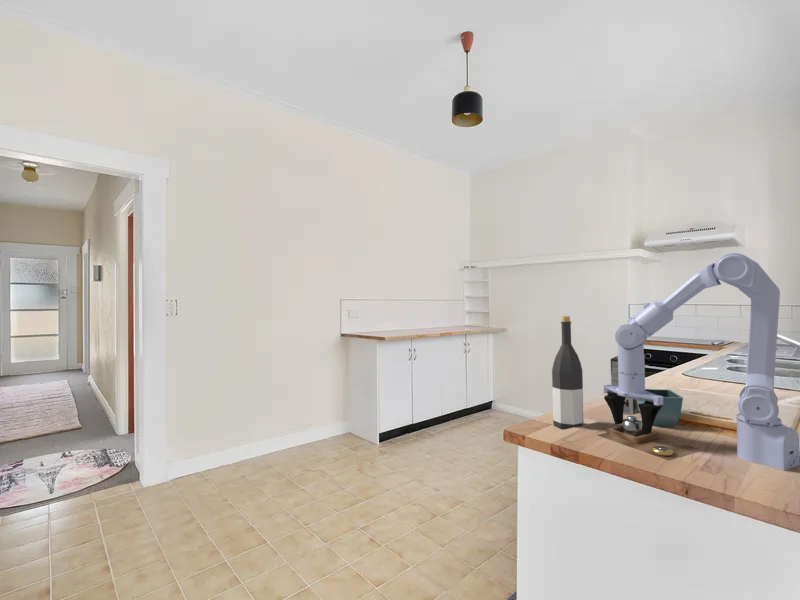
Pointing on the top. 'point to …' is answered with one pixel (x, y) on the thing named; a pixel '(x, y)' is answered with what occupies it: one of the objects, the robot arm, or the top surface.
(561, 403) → the wine bottle
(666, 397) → the flower pot
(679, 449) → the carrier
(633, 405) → the coffee box
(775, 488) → the top surface
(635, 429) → the silver knobbed cylinder
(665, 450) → the brass domed disc
